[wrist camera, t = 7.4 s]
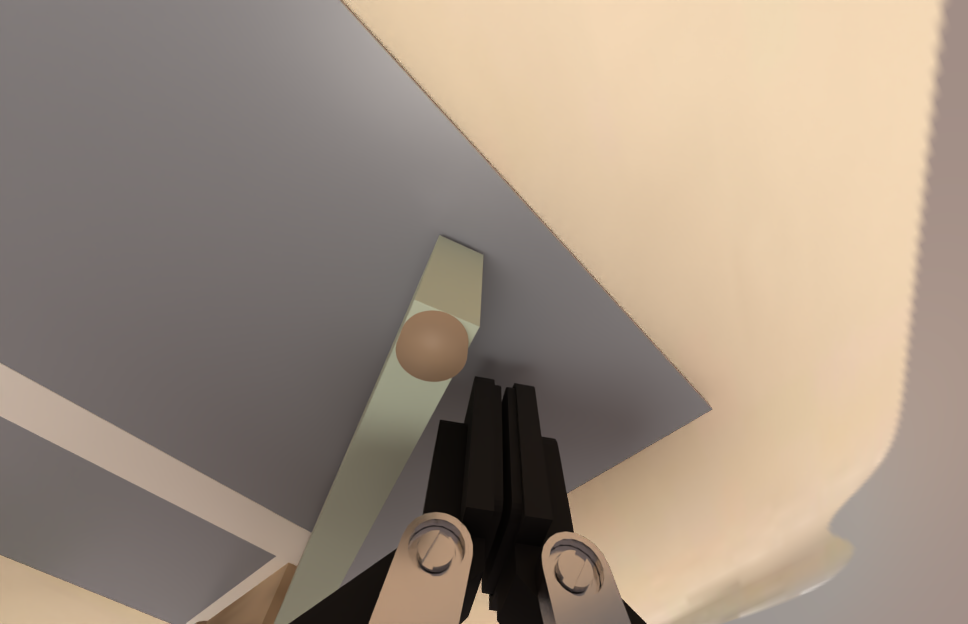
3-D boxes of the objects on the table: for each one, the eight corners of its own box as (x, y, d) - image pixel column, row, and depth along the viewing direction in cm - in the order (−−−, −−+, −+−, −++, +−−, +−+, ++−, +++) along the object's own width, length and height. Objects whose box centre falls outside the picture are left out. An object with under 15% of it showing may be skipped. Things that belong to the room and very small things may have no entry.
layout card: (274, 657, 22) (271, 664, 21) (-251, 442, 15) (-265, 448, 14) (707, 403, 13) (712, 409, 13) (-77, -458, 6) (-105, -486, 5)
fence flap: (336, 552, 16) (292, 679, 13) (306, 544, 16) (254, 671, 12) (483, 254, 10) (479, 338, 7) (439, 234, 10) (410, 311, 6)
